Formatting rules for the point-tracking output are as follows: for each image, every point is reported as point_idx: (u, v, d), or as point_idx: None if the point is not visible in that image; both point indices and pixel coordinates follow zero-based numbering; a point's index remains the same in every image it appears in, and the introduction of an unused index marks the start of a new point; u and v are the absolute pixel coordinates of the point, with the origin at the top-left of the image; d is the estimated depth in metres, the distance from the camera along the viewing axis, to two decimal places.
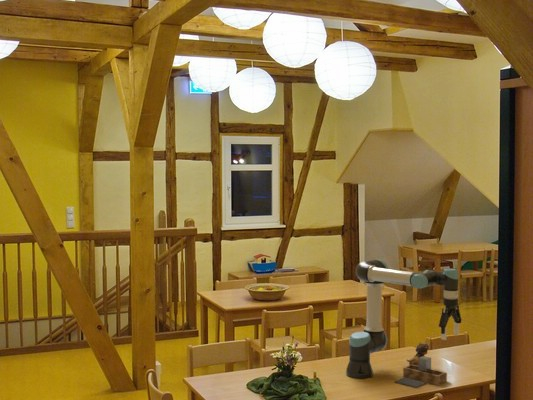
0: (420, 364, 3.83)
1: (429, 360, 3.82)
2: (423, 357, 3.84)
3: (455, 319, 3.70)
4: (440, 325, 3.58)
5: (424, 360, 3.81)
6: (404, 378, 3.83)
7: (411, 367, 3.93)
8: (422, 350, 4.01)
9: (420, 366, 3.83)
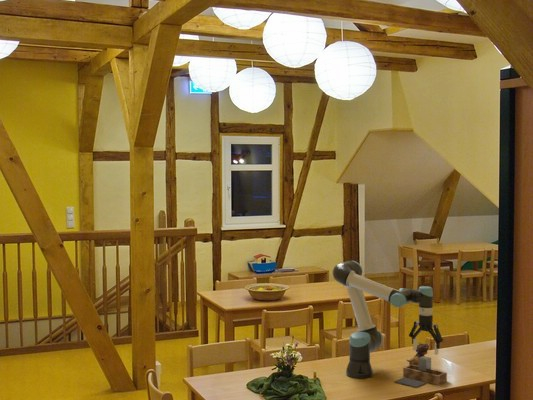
0: (420, 364, 3.83)
1: (429, 360, 3.82)
2: (423, 357, 3.84)
3: None
4: None
5: (424, 360, 3.81)
6: (404, 378, 3.83)
7: (411, 367, 3.93)
8: (422, 350, 4.01)
9: (420, 366, 3.83)
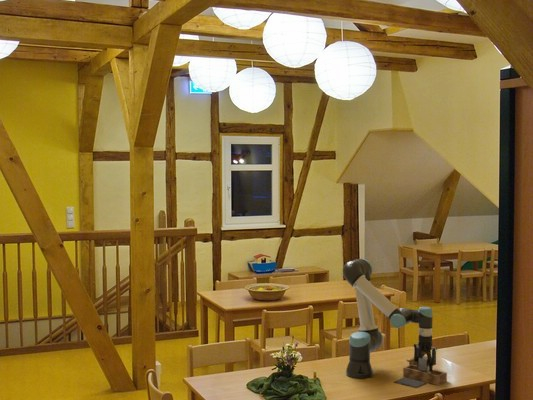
0: (420, 364, 3.83)
1: None
2: (423, 357, 3.84)
3: None
4: None
5: (424, 360, 3.81)
6: (404, 378, 3.83)
7: (411, 367, 3.93)
8: None
9: (420, 366, 3.83)
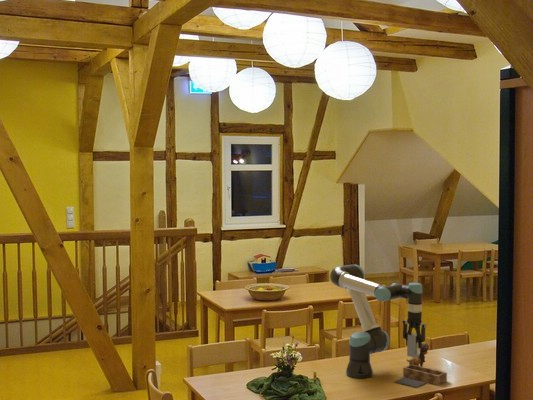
0: (409, 341, 3.77)
1: None
2: (412, 334, 3.78)
3: None
4: None
5: (413, 337, 3.75)
6: (404, 378, 3.83)
7: (411, 367, 3.93)
8: (422, 350, 4.01)
9: (409, 343, 3.77)
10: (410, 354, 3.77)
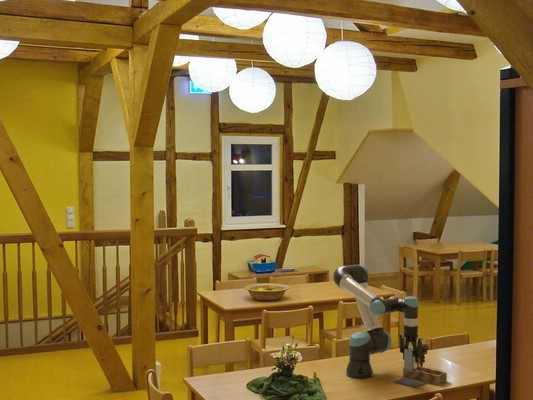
0: (406, 355, 3.75)
1: None
2: (409, 348, 3.76)
3: None
4: None
5: (410, 351, 3.73)
6: (404, 378, 3.83)
7: None
8: (422, 350, 4.01)
9: (406, 357, 3.75)
10: (407, 369, 3.75)
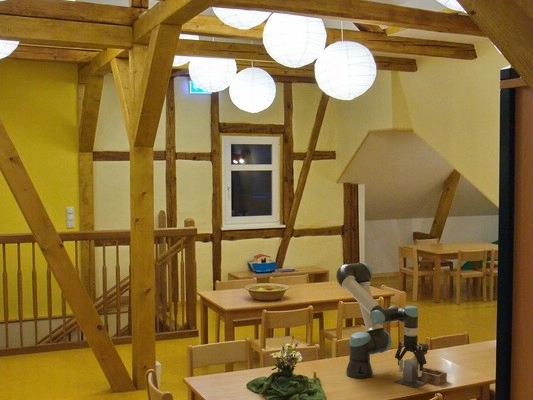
0: (405, 367, 3.76)
1: (414, 363, 3.75)
2: (408, 360, 3.77)
3: None
4: None
5: (409, 363, 3.74)
6: None
7: None
8: None
9: (405, 369, 3.76)
10: (406, 381, 3.75)
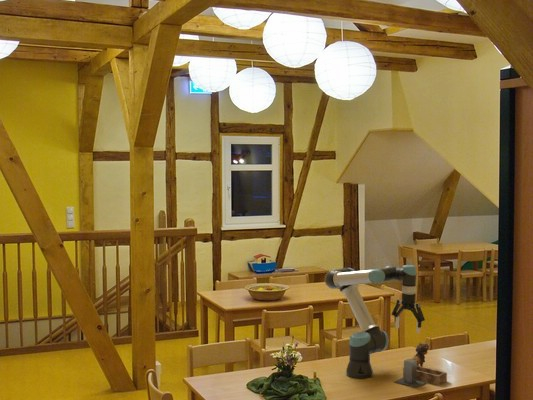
0: (405, 367, 3.76)
1: (414, 363, 3.75)
2: (408, 360, 3.77)
3: None
4: None
5: (409, 363, 3.74)
6: None
7: None
8: (422, 350, 4.01)
9: (405, 369, 3.76)
10: (406, 381, 3.75)
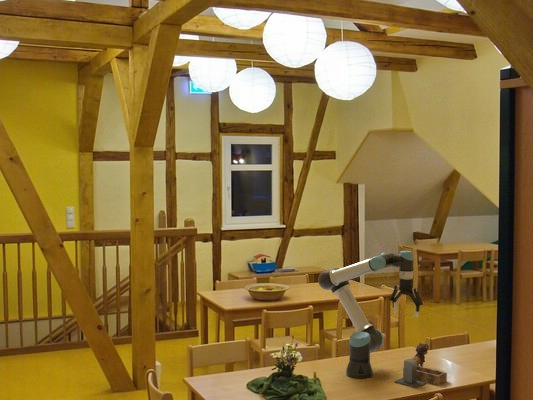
0: (405, 367, 3.76)
1: (414, 363, 3.75)
2: (408, 360, 3.77)
3: None
4: None
5: (409, 363, 3.74)
6: None
7: None
8: (422, 350, 4.01)
9: (405, 369, 3.76)
10: (406, 381, 3.75)
